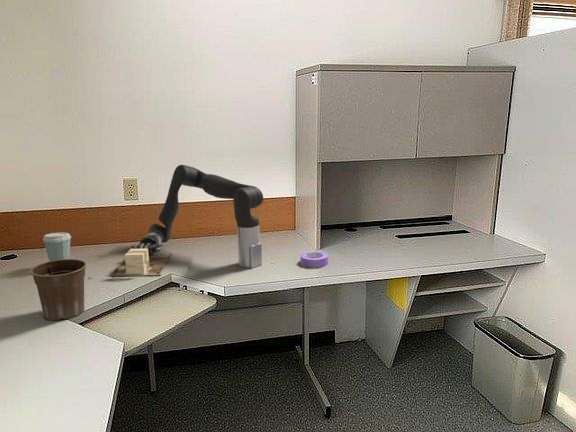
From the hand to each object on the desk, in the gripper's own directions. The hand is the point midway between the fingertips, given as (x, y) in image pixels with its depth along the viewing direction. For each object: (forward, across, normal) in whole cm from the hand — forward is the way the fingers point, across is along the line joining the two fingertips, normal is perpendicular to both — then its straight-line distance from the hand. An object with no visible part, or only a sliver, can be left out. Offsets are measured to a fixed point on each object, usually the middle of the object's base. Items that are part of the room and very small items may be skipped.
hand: (140, 254), depth 190 cm
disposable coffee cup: (-6, -35, +7) cm, 36 cm away
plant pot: (+40, -14, +7) cm, 43 cm away
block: (+4, 0, +5) cm, 7 cm away
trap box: (-3, 0, +7) cm, 7 cm away
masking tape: (-4, +72, +7) cm, 73 cm away
